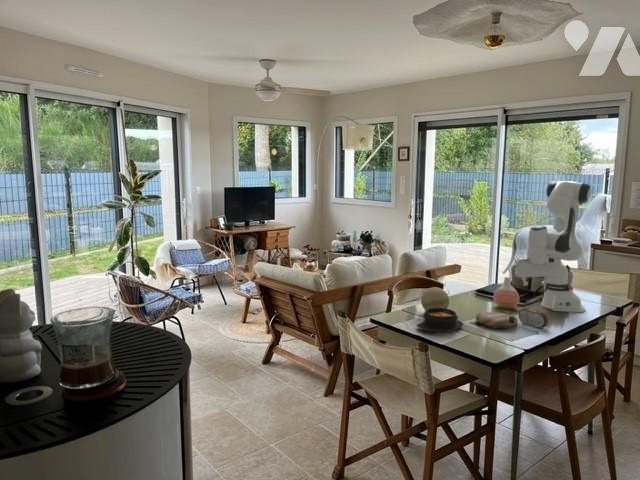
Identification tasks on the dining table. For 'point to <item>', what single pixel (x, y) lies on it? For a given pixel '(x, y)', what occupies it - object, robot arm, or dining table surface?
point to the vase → (506, 295)
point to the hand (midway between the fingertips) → (534, 285)
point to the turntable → (496, 319)
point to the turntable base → (498, 327)
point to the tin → (533, 318)
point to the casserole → (440, 320)
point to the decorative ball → (435, 298)
